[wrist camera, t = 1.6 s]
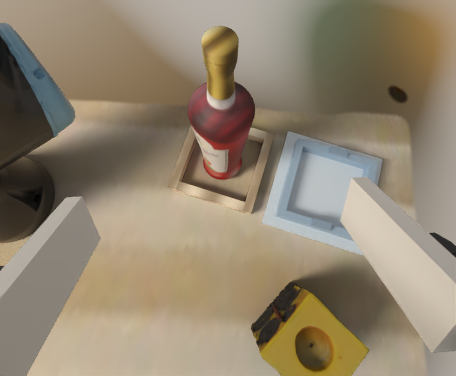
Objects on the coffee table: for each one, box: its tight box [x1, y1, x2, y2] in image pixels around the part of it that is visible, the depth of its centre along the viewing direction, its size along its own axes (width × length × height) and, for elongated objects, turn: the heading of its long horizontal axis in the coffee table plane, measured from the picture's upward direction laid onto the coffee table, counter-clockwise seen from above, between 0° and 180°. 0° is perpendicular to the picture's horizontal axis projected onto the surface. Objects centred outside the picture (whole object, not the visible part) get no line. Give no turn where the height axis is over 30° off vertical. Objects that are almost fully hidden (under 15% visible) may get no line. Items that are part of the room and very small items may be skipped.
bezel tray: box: [262, 131, 383, 256], centre depth 42 cm, size 18×18×3 cm
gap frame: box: [167, 125, 275, 214], centre depth 44 cm, size 15×15×2 cm
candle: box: [251, 282, 369, 376], centre depth 34 cm, size 10×10×10 cm
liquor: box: [188, 26, 255, 180], centre depth 31 cm, size 7×7×28 cm
